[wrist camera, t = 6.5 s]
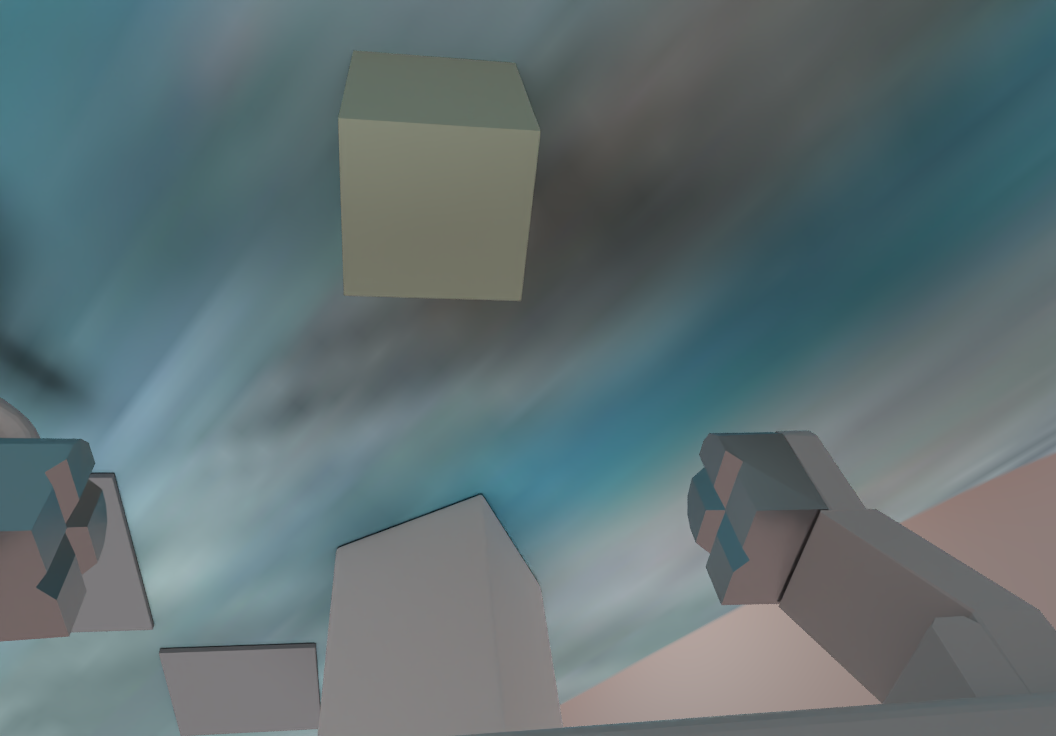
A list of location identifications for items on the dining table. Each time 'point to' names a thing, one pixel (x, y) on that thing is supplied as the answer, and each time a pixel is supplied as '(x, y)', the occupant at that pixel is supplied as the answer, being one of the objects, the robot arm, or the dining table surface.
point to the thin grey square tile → (114, 575)
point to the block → (435, 177)
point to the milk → (437, 633)
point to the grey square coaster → (243, 688)
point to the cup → (15, 423)
